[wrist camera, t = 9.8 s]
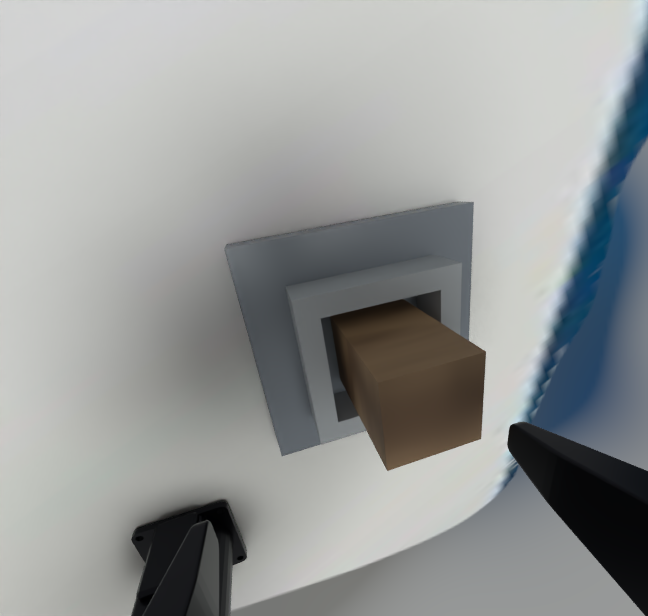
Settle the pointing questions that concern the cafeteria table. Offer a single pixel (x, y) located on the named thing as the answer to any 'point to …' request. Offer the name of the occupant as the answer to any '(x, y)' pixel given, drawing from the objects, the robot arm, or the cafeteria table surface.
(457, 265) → the socket block
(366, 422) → the walnut peg
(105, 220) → the cafeteria table surface
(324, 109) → the cafeteria table surface
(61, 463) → the cafeteria table surface
